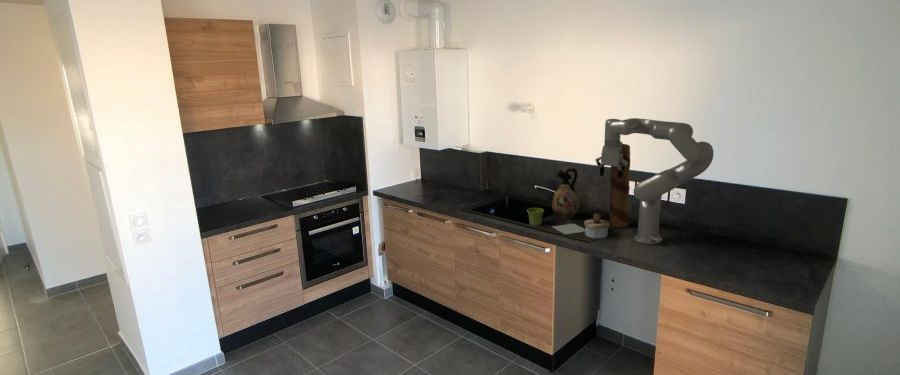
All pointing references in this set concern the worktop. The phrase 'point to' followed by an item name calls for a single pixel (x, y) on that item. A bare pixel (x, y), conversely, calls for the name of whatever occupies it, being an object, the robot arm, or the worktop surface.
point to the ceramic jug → (566, 196)
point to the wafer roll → (620, 192)
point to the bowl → (596, 232)
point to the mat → (569, 228)
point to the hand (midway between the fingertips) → (610, 176)
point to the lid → (596, 222)
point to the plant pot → (535, 215)
